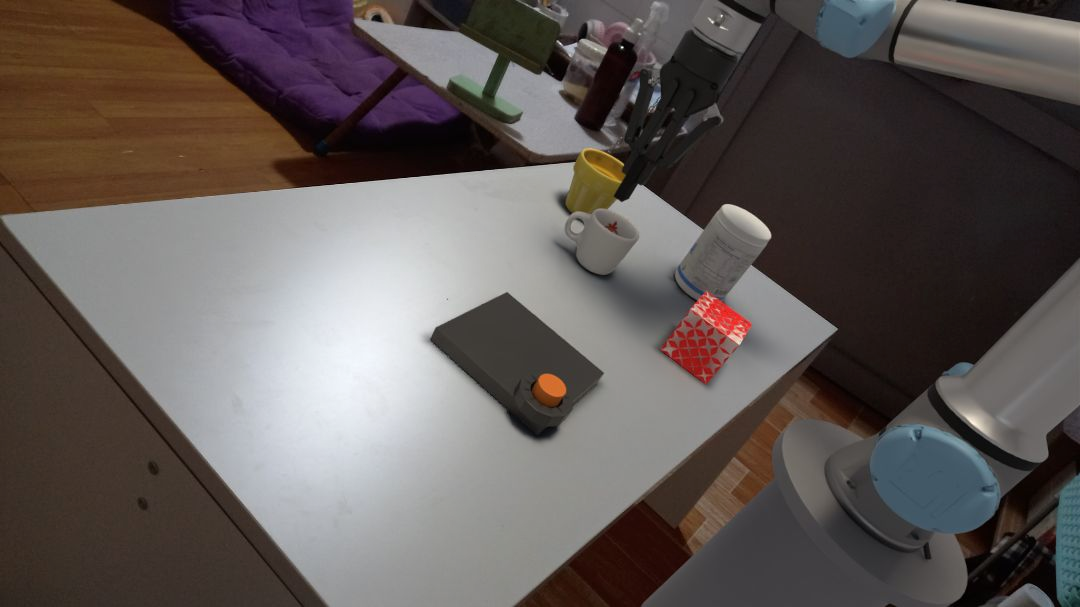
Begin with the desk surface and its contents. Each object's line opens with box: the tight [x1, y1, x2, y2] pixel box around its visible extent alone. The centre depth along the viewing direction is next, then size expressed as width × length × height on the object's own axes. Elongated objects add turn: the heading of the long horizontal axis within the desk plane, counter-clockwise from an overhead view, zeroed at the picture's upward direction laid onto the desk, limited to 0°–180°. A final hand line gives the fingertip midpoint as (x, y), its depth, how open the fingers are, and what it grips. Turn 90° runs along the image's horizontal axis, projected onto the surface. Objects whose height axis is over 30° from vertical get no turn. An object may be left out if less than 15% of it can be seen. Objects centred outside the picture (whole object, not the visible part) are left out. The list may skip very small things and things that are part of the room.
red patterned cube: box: [659, 291, 753, 385], centre depth 91 cm, size 8×8×8 cm
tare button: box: [532, 374, 566, 408], centre depth 67 cm, size 3×3×2 cm
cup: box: [564, 208, 640, 276], centre depth 99 cm, size 11×8×8 cm
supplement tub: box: [674, 203, 772, 302], centre depth 107 cm, size 10×10×15 cm
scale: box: [429, 291, 605, 436], centre depth 74 cm, size 17×15×4 cm
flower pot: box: [565, 147, 626, 214], centre depth 112 cm, size 10×10×10 cm
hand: (621, 197), depth 93 cm, fingers closed
